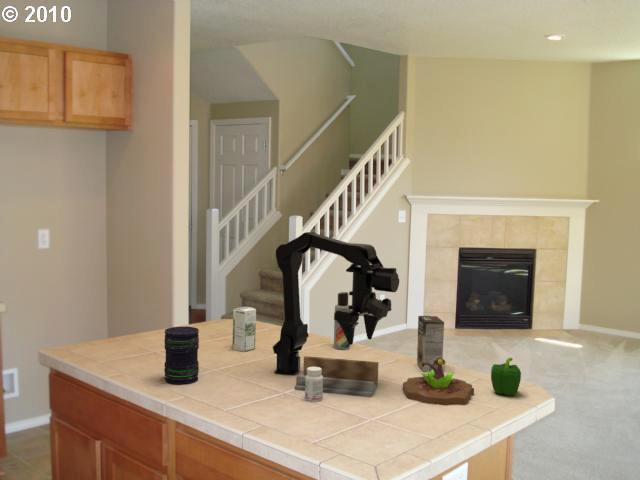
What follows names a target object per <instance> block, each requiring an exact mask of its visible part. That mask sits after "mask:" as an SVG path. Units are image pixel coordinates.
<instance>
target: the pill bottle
mask: <svg viewBox="0 0 640 480" xmlns="http://www.w3.org/2000/svg"><path fill="white" fill-rule="evenodd" d="M307 374H308V375H306V377H305V391H304V399H305V400H307V401H308V402H319V401H321V400H323V394H324V393H323V376H322V375H321V374H322V369H321V368H320V367H308V368H307Z"/></svg>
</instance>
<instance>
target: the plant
mask: <svg viewBox="0 0 640 480" xmlns="http://www.w3.org/2000/svg"><path fill="white" fill-rule="evenodd" d="M446 364H447V362H446V360H445V359H444V358H443V359H442V358H441V357H440V358H439V359H438V367H437V369H436V368H435V367H434V366H433V365H431V364H429V363H421V364H420V367H421V368H423V367H424V365H429V366H430V367H431V368H432V370H431V372H429V371H427V372H426V374H425V372H420V375H421V376H416V377H408V378H407V380H406V381H404V382H403V383H402V391H403V393H404V395H405V397H406V399H407V398H408V400H412V401H415V402H420V403H423V404H429V405H438V404H439V405H438V406H450V405H458V406H466V405H467V404H469V401H470V400H471V397H472V396H474V395H475V388H474V387H473V385H472V383H468V382H466V381H465V380H462V379H459V378H455V377H453V376H454V374H455V372H454V371H452V372H449V373H446V374H445V373H444V369H443V365H446ZM420 367H419V368H420ZM421 368H420V369H421ZM452 377H453V378H452Z"/></svg>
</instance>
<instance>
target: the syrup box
mask: <svg viewBox="0 0 640 480" xmlns="http://www.w3.org/2000/svg"><path fill="white" fill-rule="evenodd" d="M256 323H257V309H256V308H254V307H252V306H251V307H250V306H243V307H242V306H241V307H237V308H233V314H232V350H233V351H237V352H238V351H239V352H243V353H245V352H249V351H252V350H255V349H256V330H257V328H256V326H257V325H256Z"/></svg>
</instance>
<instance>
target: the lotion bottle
mask: <svg viewBox="0 0 640 480" xmlns="http://www.w3.org/2000/svg"><path fill="white" fill-rule="evenodd" d="M349 296H350V295H349V292H348V291H343V292H342V291H341V292H339V293H337V304H335V305H334V313H335V312H336V311H337V310H341V309H347V310H351V309H349V306H350V305H351V304H350V305H349ZM333 321H334V323H333V325H334V327H333V348H334V349H335V350H349V349H350V347H351V345H350V344H349V343H348V341H347V339H346V336H345V334H344V332H343V330H342V328H341V326H340V324H339V323H337V321H336V320H334V319H333Z"/></svg>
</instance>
